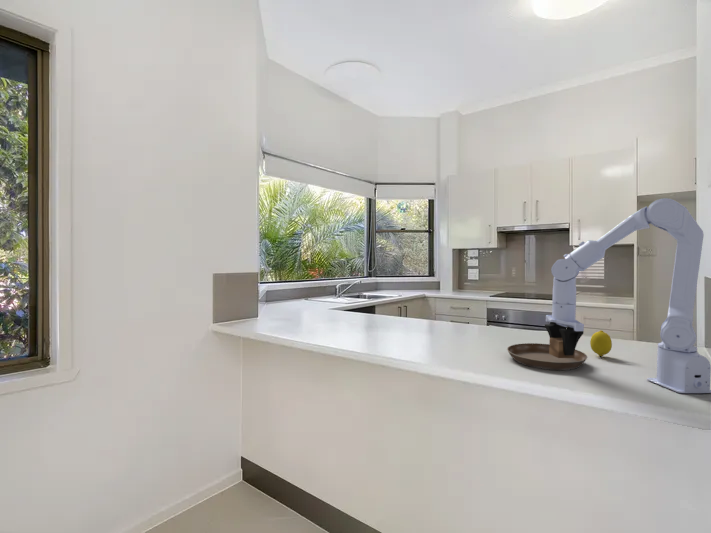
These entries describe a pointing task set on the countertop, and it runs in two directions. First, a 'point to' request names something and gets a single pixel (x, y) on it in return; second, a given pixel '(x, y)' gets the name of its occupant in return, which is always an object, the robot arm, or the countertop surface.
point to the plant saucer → (544, 357)
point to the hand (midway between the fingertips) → (562, 352)
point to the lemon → (601, 343)
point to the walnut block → (558, 348)
